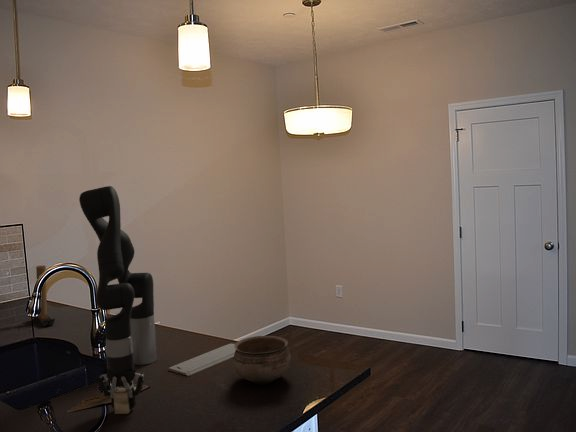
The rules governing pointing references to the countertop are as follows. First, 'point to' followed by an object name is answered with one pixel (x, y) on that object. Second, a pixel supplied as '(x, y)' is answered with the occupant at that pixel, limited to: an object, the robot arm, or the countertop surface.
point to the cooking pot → (261, 358)
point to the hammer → (43, 304)
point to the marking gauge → (121, 401)
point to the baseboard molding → (205, 360)
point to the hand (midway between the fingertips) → (124, 408)
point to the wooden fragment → (96, 401)
